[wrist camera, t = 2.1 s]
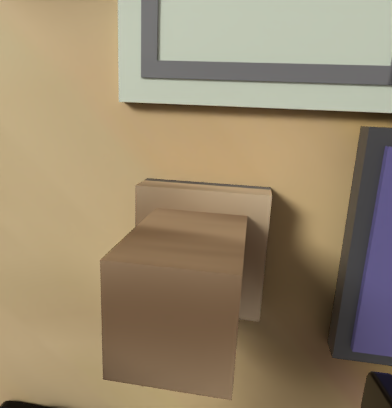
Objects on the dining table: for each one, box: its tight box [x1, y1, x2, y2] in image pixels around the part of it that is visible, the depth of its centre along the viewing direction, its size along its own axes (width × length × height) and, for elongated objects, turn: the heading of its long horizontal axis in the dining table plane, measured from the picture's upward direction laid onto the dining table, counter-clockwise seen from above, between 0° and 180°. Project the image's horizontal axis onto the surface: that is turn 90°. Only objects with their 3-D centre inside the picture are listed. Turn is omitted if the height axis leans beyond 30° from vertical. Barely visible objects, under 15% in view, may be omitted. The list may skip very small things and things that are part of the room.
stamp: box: [100, 178, 272, 400], centre depth 12 cm, size 5×5×7 cm
